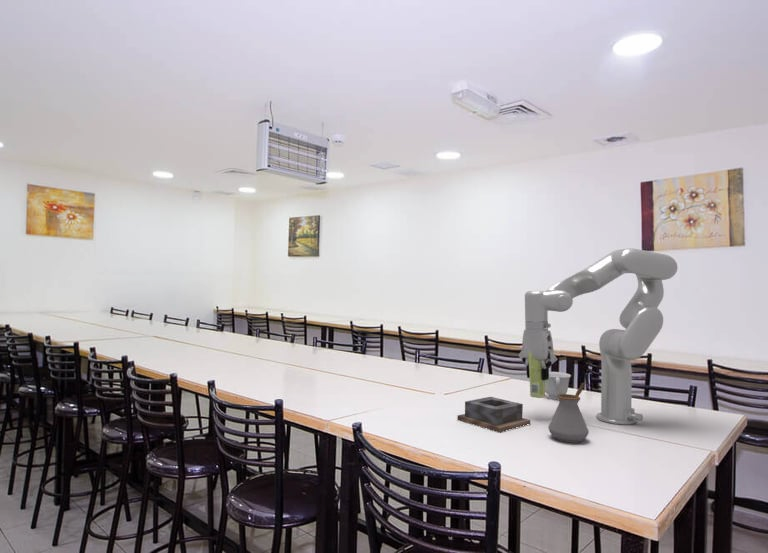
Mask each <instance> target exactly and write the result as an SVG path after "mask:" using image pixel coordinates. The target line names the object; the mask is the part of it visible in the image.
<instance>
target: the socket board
mask: <svg viewBox="0 0 768 553" xmlns="http://www.w3.org/2000/svg"><path fill="white" fill-rule="evenodd" d="M523 405H524V404H523V403H519V402H515V401H511V400H506V399H501V398H497V397H494V396H487V397H481V398H477V399H471V400H467V401H465V402H464V413H463V414H458V415H456V416H457V417H456V419H457V421H459V422H463V423H466V422H467V423H466V424H470V425H473V424H474V426H476V425H477V426H476V427H479V426H480V427H481V428H483V427H484V428H483V429H486V428H487V430H489V429H490V431H493V430H494V432H496V431H497V432H496V433H499V432H500V433H503V432H502V431H504V432H507V431H506V430H508V431H510V430H509V429H512V428H516V427H519V428H521V427H520V426H523V425H527V424H530V425H531V419H528V418H525V417H524V418H523V411H524V410H523V408H524V407H523ZM527 426H528V425H527ZM523 427H524V426H523ZM516 429H517V428H516ZM512 430H513V429H512Z"/></svg>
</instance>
